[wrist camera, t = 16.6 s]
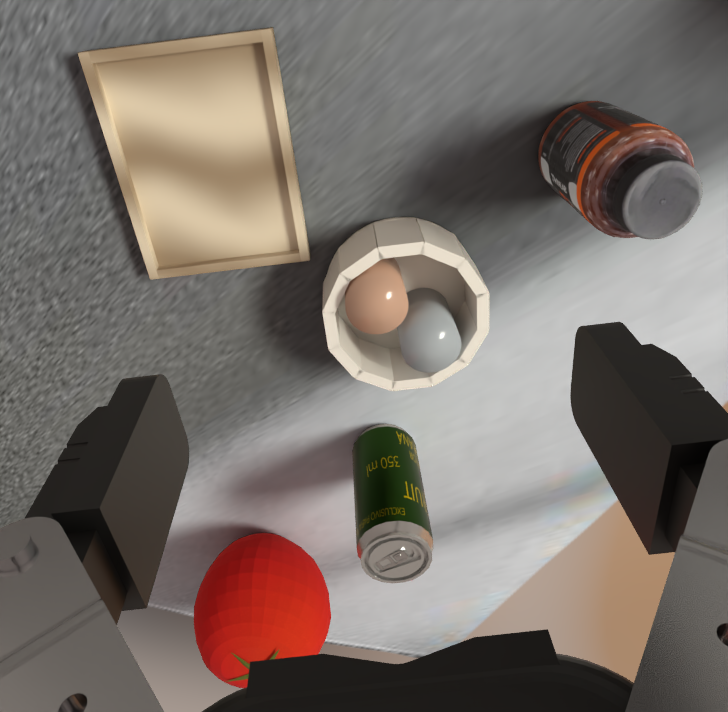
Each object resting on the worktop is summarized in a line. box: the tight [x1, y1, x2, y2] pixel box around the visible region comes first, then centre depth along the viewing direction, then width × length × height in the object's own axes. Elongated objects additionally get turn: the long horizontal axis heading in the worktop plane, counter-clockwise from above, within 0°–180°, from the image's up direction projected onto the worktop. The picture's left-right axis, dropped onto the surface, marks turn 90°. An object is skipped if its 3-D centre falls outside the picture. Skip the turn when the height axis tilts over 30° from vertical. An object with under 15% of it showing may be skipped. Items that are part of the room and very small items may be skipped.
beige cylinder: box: [345, 257, 408, 334], centre depth 41 cm, size 4×4×5 cm
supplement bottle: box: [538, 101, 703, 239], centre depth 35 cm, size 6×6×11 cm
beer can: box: [352, 424, 433, 583], centre depth 47 cm, size 5×5×12 cm
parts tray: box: [78, 27, 310, 280], centre depth 38 cm, size 14×11×1 cm
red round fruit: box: [194, 533, 331, 688], centre depth 52 cm, size 11×11×13 cm
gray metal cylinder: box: [397, 288, 461, 373], centre depth 42 cm, size 4×4×5 cm
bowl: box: [322, 217, 489, 391], centre depth 42 cm, size 11×11×5 cm
